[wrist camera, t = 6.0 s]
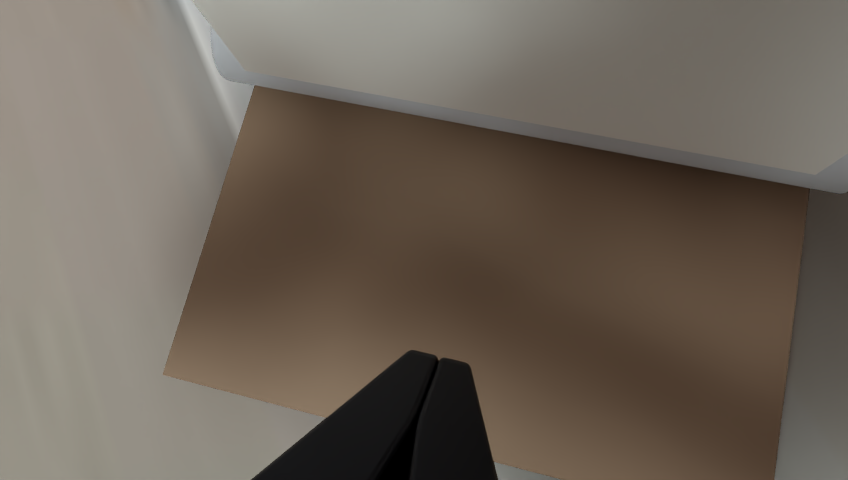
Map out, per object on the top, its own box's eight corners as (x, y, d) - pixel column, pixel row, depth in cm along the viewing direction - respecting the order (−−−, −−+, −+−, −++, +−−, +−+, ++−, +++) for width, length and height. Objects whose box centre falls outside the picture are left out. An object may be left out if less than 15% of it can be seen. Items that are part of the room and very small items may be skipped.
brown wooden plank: (745, 522, 15) (767, 533, 14) (185, 375, 17) (162, 374, 16) (830, -136, 18) (853, -172, 17) (361, -190, 20) (353, -225, 19)
